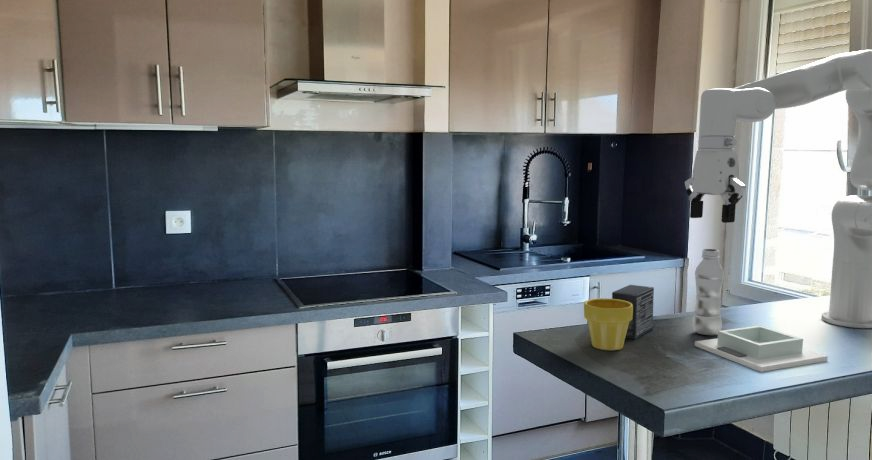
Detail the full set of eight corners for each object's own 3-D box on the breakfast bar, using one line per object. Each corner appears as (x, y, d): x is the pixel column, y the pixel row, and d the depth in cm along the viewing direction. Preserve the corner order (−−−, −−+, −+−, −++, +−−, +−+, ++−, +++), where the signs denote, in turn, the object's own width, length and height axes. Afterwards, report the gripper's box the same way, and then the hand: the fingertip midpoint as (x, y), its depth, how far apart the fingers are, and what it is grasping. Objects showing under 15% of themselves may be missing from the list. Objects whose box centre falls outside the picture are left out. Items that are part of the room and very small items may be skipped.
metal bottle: (723, 332, 155) (727, 249, 153) (719, 340, 150) (724, 253, 147) (694, 328, 159) (698, 246, 156) (689, 335, 153) (693, 251, 150)
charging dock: (756, 337, 152) (757, 320, 151) (827, 360, 135) (828, 341, 135) (694, 345, 145) (695, 328, 145) (761, 371, 129) (762, 352, 128)
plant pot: (587, 337, 152) (588, 295, 151) (633, 342, 148) (635, 299, 147) (579, 350, 143) (580, 306, 141) (628, 355, 139) (630, 310, 137)
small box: (627, 325, 162) (629, 283, 161) (653, 329, 158) (655, 287, 157) (609, 334, 154) (610, 290, 153) (636, 339, 150) (637, 295, 149)
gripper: (759, 144, 142) (754, 223, 144) (701, 144, 158) (697, 215, 160) (733, 144, 139) (728, 225, 141) (675, 144, 155) (672, 216, 157)
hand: (711, 219), depth 151 cm, fingers open, 9 cm apart
